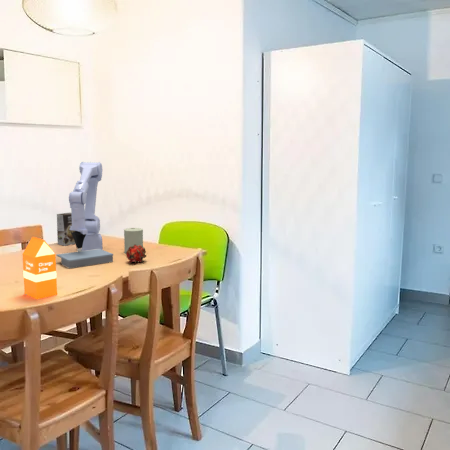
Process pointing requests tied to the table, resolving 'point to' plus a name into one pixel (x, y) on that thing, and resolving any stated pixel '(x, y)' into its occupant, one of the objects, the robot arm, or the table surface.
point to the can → (132, 237)
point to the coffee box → (64, 229)
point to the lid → (84, 254)
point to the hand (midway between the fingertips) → (79, 247)
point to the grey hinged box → (86, 262)
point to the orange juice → (39, 269)
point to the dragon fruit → (136, 253)
